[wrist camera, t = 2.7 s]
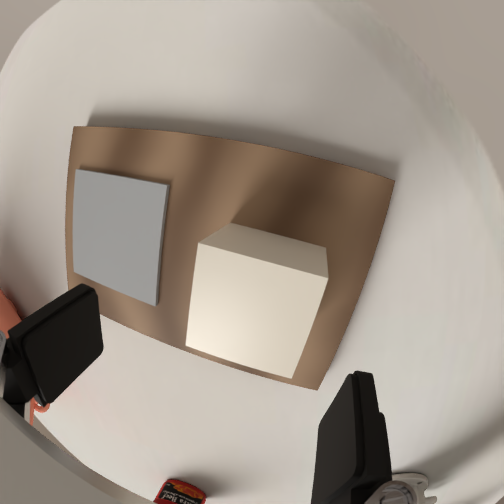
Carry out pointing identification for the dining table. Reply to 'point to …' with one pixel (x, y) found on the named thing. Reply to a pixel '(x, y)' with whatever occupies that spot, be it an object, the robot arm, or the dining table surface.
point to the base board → (242, 213)
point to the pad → (119, 232)
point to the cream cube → (255, 297)
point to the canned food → (179, 493)
